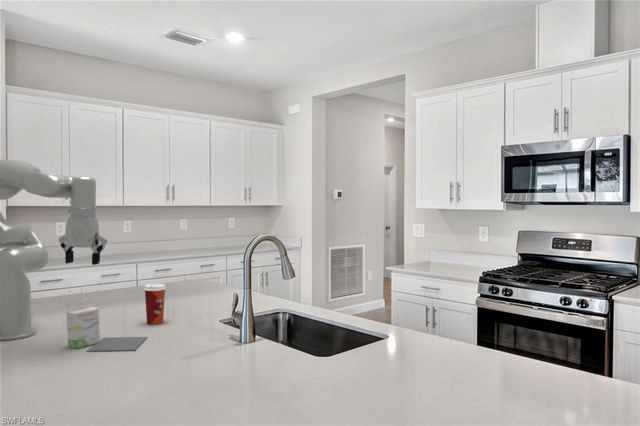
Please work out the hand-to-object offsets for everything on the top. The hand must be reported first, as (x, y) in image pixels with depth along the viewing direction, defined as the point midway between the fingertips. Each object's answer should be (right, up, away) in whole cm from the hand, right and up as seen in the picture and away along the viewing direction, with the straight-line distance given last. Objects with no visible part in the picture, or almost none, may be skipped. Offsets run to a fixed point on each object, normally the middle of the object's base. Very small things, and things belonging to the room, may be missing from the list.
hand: (82, 263), depth 157 cm
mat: (+13, -27, -1) cm, 30 cm away
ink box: (+2, -27, -2) cm, 27 cm away
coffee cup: (+15, -27, +26) cm, 40 cm away
